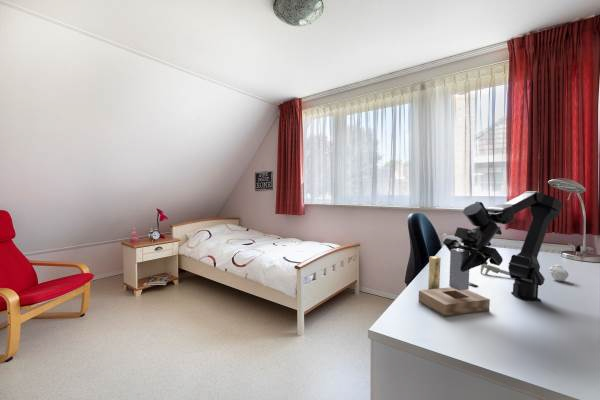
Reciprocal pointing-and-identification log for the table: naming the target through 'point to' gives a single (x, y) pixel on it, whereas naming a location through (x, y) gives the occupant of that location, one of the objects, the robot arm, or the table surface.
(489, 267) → the caliper
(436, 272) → the brass pin
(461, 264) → the grey rectangular block
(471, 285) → the usb flash drive
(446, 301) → the bore block
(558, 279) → the crumpled paper ball
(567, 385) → the table surface
